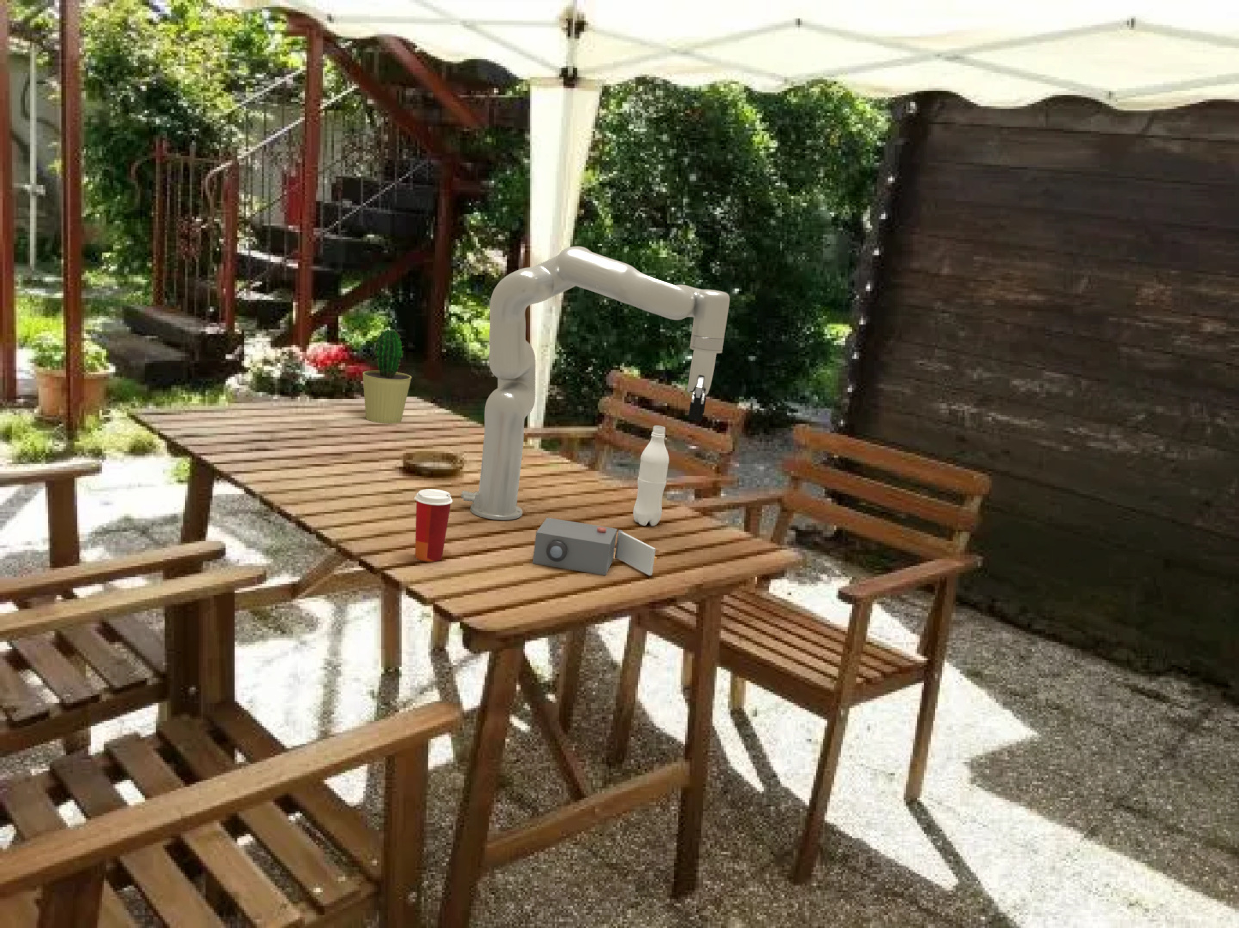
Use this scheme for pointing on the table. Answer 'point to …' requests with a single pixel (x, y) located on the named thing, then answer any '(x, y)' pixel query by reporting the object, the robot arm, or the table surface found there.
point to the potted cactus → (386, 382)
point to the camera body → (574, 546)
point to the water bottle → (652, 479)
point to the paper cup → (431, 523)
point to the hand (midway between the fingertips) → (696, 416)
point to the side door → (635, 553)
